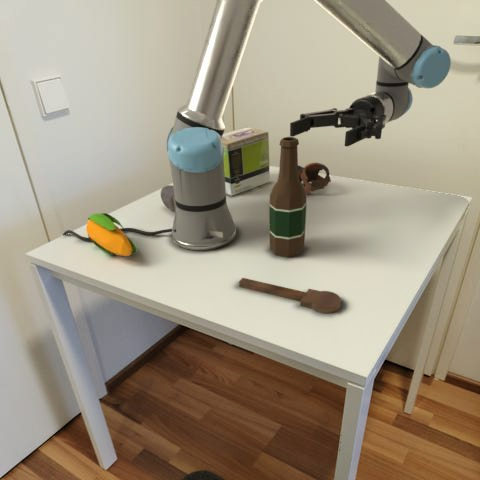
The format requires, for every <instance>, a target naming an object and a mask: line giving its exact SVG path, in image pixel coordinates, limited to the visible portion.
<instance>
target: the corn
mask: <svg viewBox="0 0 480 480" xmlns="http://www.w3.org/2000/svg"><path fill="white" fill-rule="evenodd" d="M87 220H88V221H87V223H86V228H85V231H86V233H87V236H88V237H87V238H89V239H90V240H91V242H92V243H93V245H95V247H97V248H98V249H100V250H101V251H103V252H104V253H106V254H107V255H109V256H114V255H117V256H122V257H123V256H124V257H130V255H132V254H137V252H138V249H137V246H136V245H135V244H134V242H133V241H132V240H131V238H129V237H128V235H126V234H125V233H124V231H122V230H121V228H123V229H124V228H125V227H124V226H123V225H122V224H121V222H120V221H119V220H118V219H117V218H116V217H114V216H113V215H110V214H108V213H106V212H105V213H103V212H101V213H93V214H90V215H89V216H88V217H87ZM118 226H120V227H121V228H120V227H118Z"/></svg>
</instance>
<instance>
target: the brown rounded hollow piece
mask: <svg viewBox="0 0 480 480" xmlns="http://www.w3.org/2000/svg"><path fill="white" fill-rule="evenodd" d="M323 170H324V172H325V177H323V176H321V175H320V174H319V173H320V171H323ZM298 175H299V180H300V182H301V183H302V184H303V185H304V189H305V192H306V195H309V194H311V193H313V192H317V191H320V190H323V189H324V188H325V187H327V186H328V185H329V184H330V183H331V182H332V180H331V176H330V169H329V168H328V167H327V166H326V165H325V164H324V163H323V164H322V163H320V162H310V163H308V164H306V165H305V166H304V167H303V166H301V165H298Z"/></svg>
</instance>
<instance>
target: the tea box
mask: <svg viewBox="0 0 480 480" xmlns="http://www.w3.org/2000/svg"><path fill="white" fill-rule="evenodd" d="M269 142H270V141H269V132H268V131H265V130H262V129H261V130H260V129H257V128H256V129H255V128H252V127H248V126H244V127H240V128H237V129H233V130H229V131H226V132H224V133H223V136H222V144H223V147H224V157H223V158H224V173H225V188H226V195H227V196H231V197H232V196H235V195H237V194H238V195H239V194H240V193H241V194H242V193H243V192H246V191H249V190H251V189H252V190H253V189H254V188H257V187H260V186H262V185H265V184H268V183H270V182H271V178H270V177H271V174H270V173H271V172H270V143H269Z"/></svg>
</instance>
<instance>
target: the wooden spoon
mask: <svg viewBox="0 0 480 480" xmlns="http://www.w3.org/2000/svg"><path fill="white" fill-rule="evenodd" d="M238 284H239V287H240V288H243V289H248V290H252V291H257V292H261V293H264V294H269V295H273V296H276V297H282V298H286V299H290V300H294V301H299V302H300V307H304V308H308V309H312V310H313V311H315V312H317V313H321V314H332V313H336V312H337V311H338V310H340V308H341V303H342V299H341V297H340V295H338V294H337V293H336V292H333V291H330V290H317V289H312V288H308V289H307V291H303V290H302V291H301V290H298V289H293V288H289V287H284V286H280V285H276V284H271V283H267V282H262V281H258V280H254V279H249V278H247V277H242V278H241V279H240V280H239V282H238Z"/></svg>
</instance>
